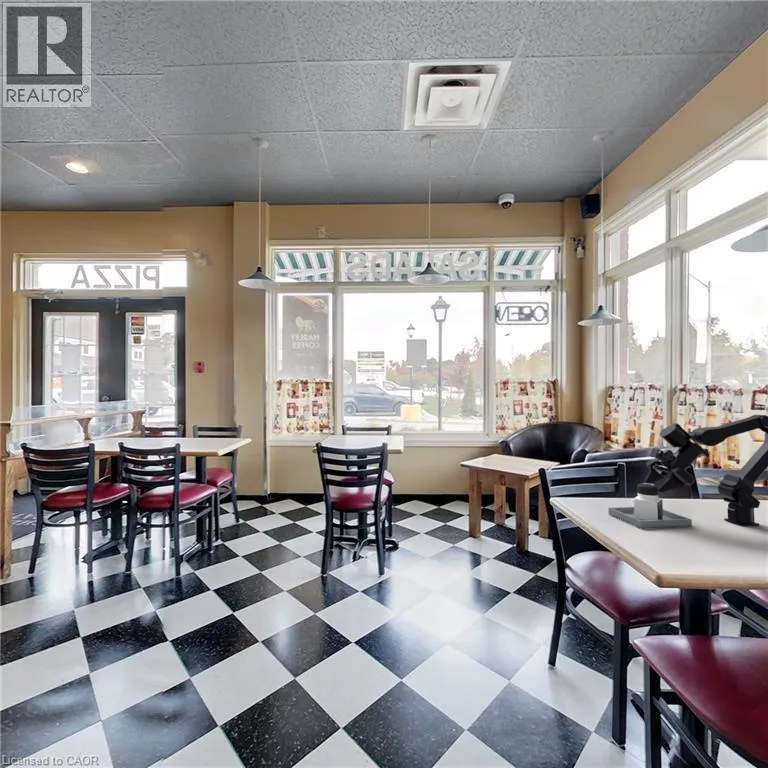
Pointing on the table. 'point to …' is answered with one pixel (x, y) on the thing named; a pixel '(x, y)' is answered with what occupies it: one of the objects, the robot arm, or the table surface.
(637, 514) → the medicine bottle
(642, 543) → the table surface
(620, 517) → the tray
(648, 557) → the table surface
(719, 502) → the table surface
